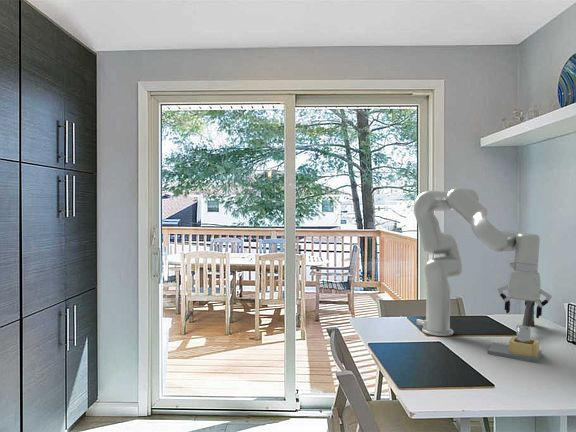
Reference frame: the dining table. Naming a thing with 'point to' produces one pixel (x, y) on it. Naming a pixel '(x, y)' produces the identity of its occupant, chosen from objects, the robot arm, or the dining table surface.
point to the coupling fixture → (517, 350)
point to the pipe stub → (523, 334)
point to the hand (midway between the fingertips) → (522, 314)
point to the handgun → (529, 314)
